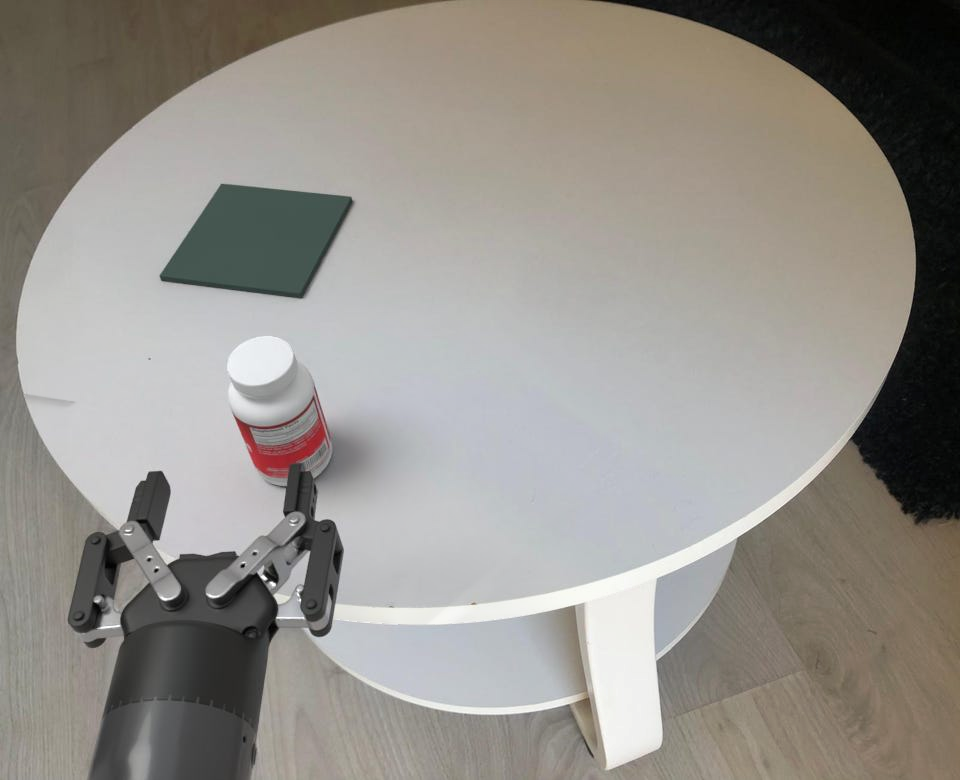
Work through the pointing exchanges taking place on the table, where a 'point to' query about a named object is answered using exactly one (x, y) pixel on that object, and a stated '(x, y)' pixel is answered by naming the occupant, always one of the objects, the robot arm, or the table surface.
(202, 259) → the mat
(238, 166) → the table surface
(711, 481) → the table surface
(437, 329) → the table surface
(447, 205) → the table surface
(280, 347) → the pill bottle
